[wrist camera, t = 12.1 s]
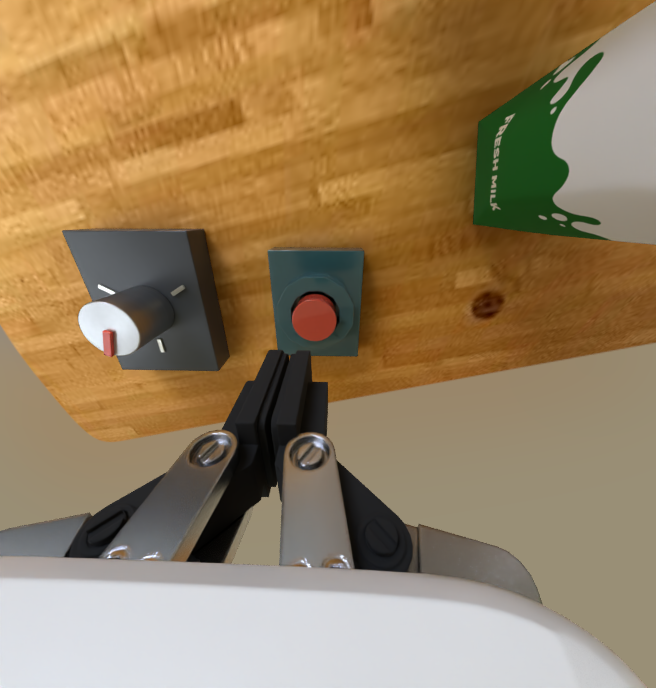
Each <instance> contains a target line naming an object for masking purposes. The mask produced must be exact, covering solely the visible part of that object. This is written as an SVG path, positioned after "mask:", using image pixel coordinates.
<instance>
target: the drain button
mask: <svg viewBox="0 0 656 688" xmlns="http://www.w3.org/2000/svg"><path fill="white" fill-rule="evenodd" d="M336 322H337V313H336V308H335V306H334V304H333V302H332V301H331V300H330V299H329V298H327V297H326V296H324V295H321V294H309V295H306V296H304V297H303V298H302V299H300V301H299V302H298V303H297V305H296V307H295V310H294V312H293V315H292V324H293V327H294V329H295V331H296V332H297V333H298V334H299V335H300V336H301V337H302V338H304V339H306V340H310V341H320V340H323V339H326V338H327V337H329V336H330V335H331V334H332V333H333V331H334V330H335V327H336Z"/></svg>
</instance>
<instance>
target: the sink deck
mask: <svg viewBox="0 0 656 688" xmlns="http://www.w3.org/2000/svg"><path fill="white" fill-rule="evenodd" d="M62 232H63V235H64V237H65V239H66V242H67V244H68V246H69V248H70V251H71V253H72V255H73V257H74V260H75V262H76V264H77V267H78V269H79V271H80V273H81V276H82V278H83V280H84V283H85V285H86V287H87V289H88V292H89V294H90V296H91V299H92V301H95V300H98V299H101V298H103V297H106V296H109V295H112V294H115V293H117V292H120V291H123V290H126V289H129V288H132V287H135V286H147V287H150V288H153V289H155V290H157V291H158V292H160V293H161V294H162V295H163V296H165V297H166V299H167V300H168V301H169V303H170V304H171V306H172V308H173V312H174V321H173V324H172V326H171V327H170V328H169V329H168V330H166V331H165V332H163V333H162V334H160V335H159V336H157V337H156V338H154V339H153V340H151V341H150V342H148V343H147V344H146V345H144V346H143V347H141V348H140V349H138V350H137V351H135V352H134V353H132V354H129V355H124V356H118V355H116V356H117V358H118V360H119V362H120V365H121V367H122V369H129V370H188V371H219V370H220V369H221V367H222V366H223V365H224V363H225V362H226V361H227V359H228V358H229V357H230V356H229V351H228V346H227V341H226V336H225V331H224V326H223V321H222V316H221V311H220V307H219V302H218V297H217V292H216V287H215V282H214V277H213V272H212V267H211V262H210V257H209V252H208V248H207V243H206V238H205V233H204V229H79V230H63V231H62Z"/></svg>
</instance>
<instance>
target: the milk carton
mask: <svg viewBox="0 0 656 688" xmlns="http://www.w3.org/2000/svg"><path fill="white" fill-rule="evenodd" d="M473 224H474V225H482V226H489V227H496V228H503V229H510V230H517V231H524V232H532V233H541V234H549V235H558V236H569V237H579V238H590V239H601V240H611V241H622V242H632V243H643V244H654V245H656V1H655V2H653V3H652V4H650V5H649V6H647V7H646V8H644V9H643V10H641V11H640V12H638V13H637V14H635V15H634V16H632V17H631V18H630V19H628V20H627V21H625V22H624V23H622V24H621V25H619V26H618V27H616V28H615V29H613V30H612V31H610V32H609V33H607V34H606V35H604V36H603V37H601V38H600V39H598V40H597V41H595V42H594V43H592V44H591V45H589V46H588V47H586V48H585V49H584V50H582V51H581V52H579V53H578V54H576V55H575V56H573V57H572V58H571V59H569V60H568V61H566V62H565V63H563V64H562V65H560V66H559V67H557V68H556V69H554V70H553V71H551V72H550V73H548V74H547V75H545V76H544V77H543V78H541V79H540V80H538V81H537V82H535V83H534V84H532V85H531V86H530V87H528V88H527V89H525V90H524V91H522V92H521V93H519V94H518V95H517V96H515V97H514V98H512V99H511V100H509V101H508V102H507V103H505V104H504V105H502V106H501V107H499V108H498V109H496V110H495V111H494V112H492V113H491V114H489V115H488V116H486V117H485V118H483V119H482V120H480V121H479V122H478V141H477V160H476V178H475V197H474V215H473Z"/></svg>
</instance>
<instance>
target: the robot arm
mask: <svg viewBox="0 0 656 688" xmlns="http://www.w3.org/2000/svg"><path fill="white" fill-rule="evenodd" d="M327 415H328V382H312V370H311V351H310V350H297V351H296V354H291V357H290V360H289V355H288V354H284V351H283V350H269V351H268V353H267V355H266V358H265V360H264V362H263V364H262V366H261V368H260V370H259V372H258V374H257V377H256V379H255V381H247V382H246V384H245V385H244V387H243V389H242V391H241V393H240V395H239V397H238V399H237V401H236V403H235V405H234V407H233V409H232V411H231V413H230V414H229V416H228V418H227V420H226V422H225V424H224V426H223V428H222V430H215V431H209V432H207V433H205V434H202V435H201V436H199V437H198V438H196V439H195V440H193V441H192V442H191V444H189V446H188V447H187V448H186V449H185V450H184V452H183V453H182V454H181V455H180V457H179V458H178V459H177V460H176V462H175V463H174V464H173V466H172V467H171V468H170V469H169V471H168V472H166V473H164V474H163V475H161V476H159V477H158V478H156V479H154V480H152V481H150V482H149V483H147V484H145V485H144V486H142V487H140V488H138V489H136V490H135V491H133V492H131V493H130V494H128V495H126V496H124V497H122V498H121V499H119V500H117V501H115V502H114V503H112V504H110V505H108V506H107V507H105V508H104V509H102V510H101V511H99V512H98V513H96V514H95V515H94V516H92V515H91V514H90V513H85V514H80V515H75V516H70V517H65V518H59V519H54V520H50V521H44V522H39V523H34V524H29V525H24V526H19V527H13V528H9V529H5V530H2V531H0V688H648V687H647V686H646V685H645V684H644V683H643V682H642V680H641V679H640V678H639V677H638V676H637V675H636V674H635V673H634V672H633V671H632V670H631V669H630V668H629V667H628V666H627V665H626V664H625V663H624V661H622V659H621V658H620V657H619V656H617V655H616V654H615V653H614V652H613V651H612V650H611V649H609V648H608V647H607V646H606V645H605V644H603V643H602V642H601V641H599V640H598V639H597V638H595V637H594V636H593V635H592V634H590V633H589V632H587V631H586V630H584V629H583V628H581V627H580V626H578V625H576V624H575V623H573V622H572V621H570V620H569V619H567V618H566V617H564V616H562V615H560V614H559V613H557V612H555V611H553V610H551V609H549V608H547V607H546V606H543V604H542V602H541V598H540V595H539V592H538V589H537V587H536V585H535V583H534V581H533V579H532V577H531V575H530V573H529V572H528V571H527V569H526V568H525V567H524V566H523V564H522V563H521V562H520V561H519V560H518V559H517V558H515V557H514V556H513V555H512V554H510V553H509V552H507V551H506V550H503V549H501V548H499V547H497V546H493V545H490V544H487V543H483V542H480V541H476V540H473V539H469V538H466V537H462V536H459V535H455V534H452V533H448V532H445V531H441V530H438V529H434V528H431V527H428V526H424V525H420V524H419V525H418V527H414V526H411V525H407V524H404V523H403V522H402V520H401V519H400V518H399V517H398V516H397V515H396V514H395V513H394V512H393V511H392V510H390V509H389V508H388V507H387V506H386V505H385V504H384V503H383V502H382V501H381V500H380V499H378V498H377V497H376V496H375V495H374V494H373V493H372V492H371V491H370V490H369V489H368V488H366V487H365V486H364V485H363V484H362V483H361V482H360V481H359V480H358V479H356V478H355V477H354V476H353V475H352V474H351V473H350V472H349V471H348V470H347V469H346V468H345V467H344V466H342V465H341V464H340V463H339V462H338V461H337V460H336V454H335V449H334V446H333V443H332V442H331V441H330V439H329V438H328V437H326V436H327ZM277 481H278V488H279V493H280V500H281V502H282V515H281V538H280V560H279V566H272V565H271V566H270V565H249V564H231V563H232V561H233V559H234V556H235V554H236V551H237V549H238V547H239V544H240V542H241V539H242V537H243V535H244V532H245V530H246V527H247V525H248V523H249V520H250V518H251V515H252V511H253V506H254V505H255V504H256V503H258V502H259V501H260V500H261V497H269V493H270V489H271V487H276V485H277Z"/></svg>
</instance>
